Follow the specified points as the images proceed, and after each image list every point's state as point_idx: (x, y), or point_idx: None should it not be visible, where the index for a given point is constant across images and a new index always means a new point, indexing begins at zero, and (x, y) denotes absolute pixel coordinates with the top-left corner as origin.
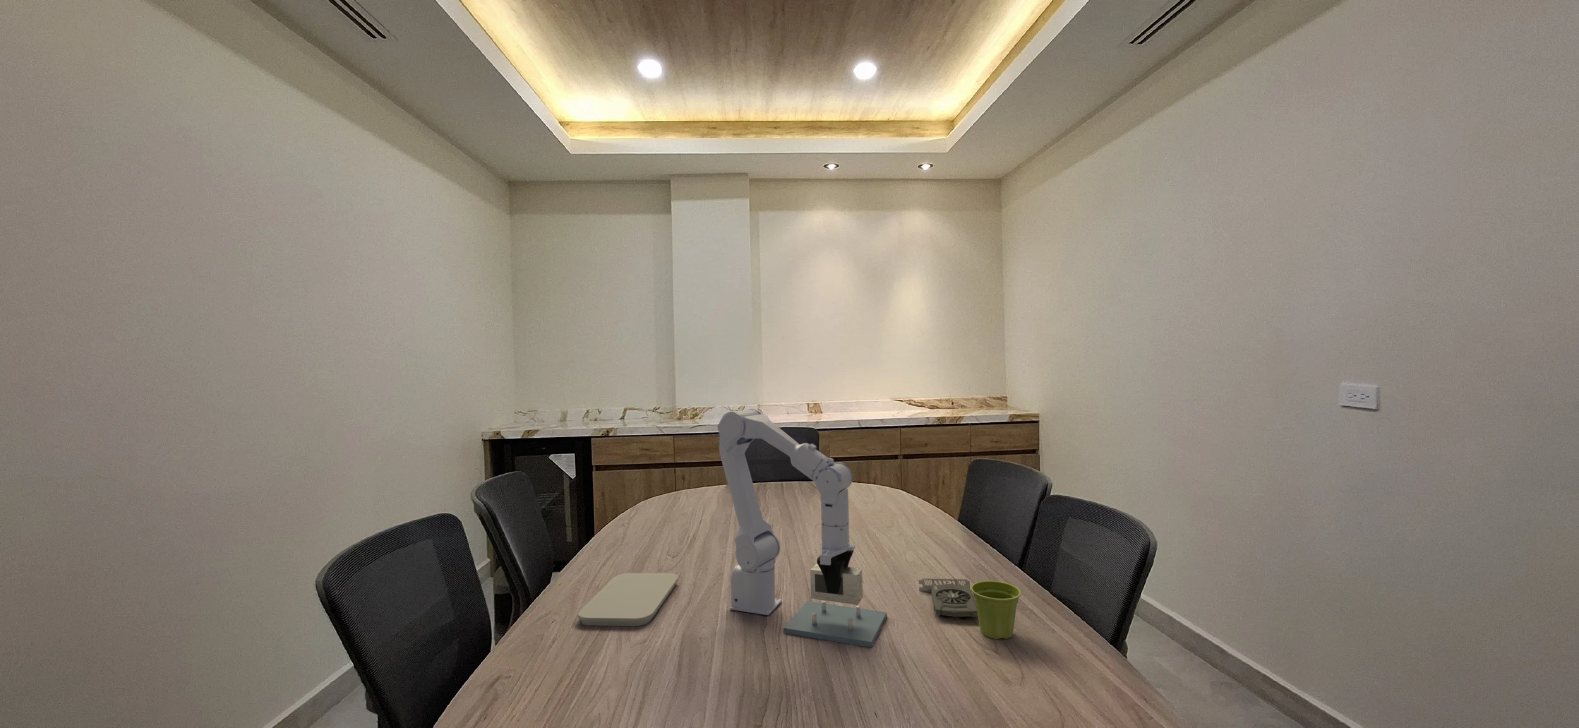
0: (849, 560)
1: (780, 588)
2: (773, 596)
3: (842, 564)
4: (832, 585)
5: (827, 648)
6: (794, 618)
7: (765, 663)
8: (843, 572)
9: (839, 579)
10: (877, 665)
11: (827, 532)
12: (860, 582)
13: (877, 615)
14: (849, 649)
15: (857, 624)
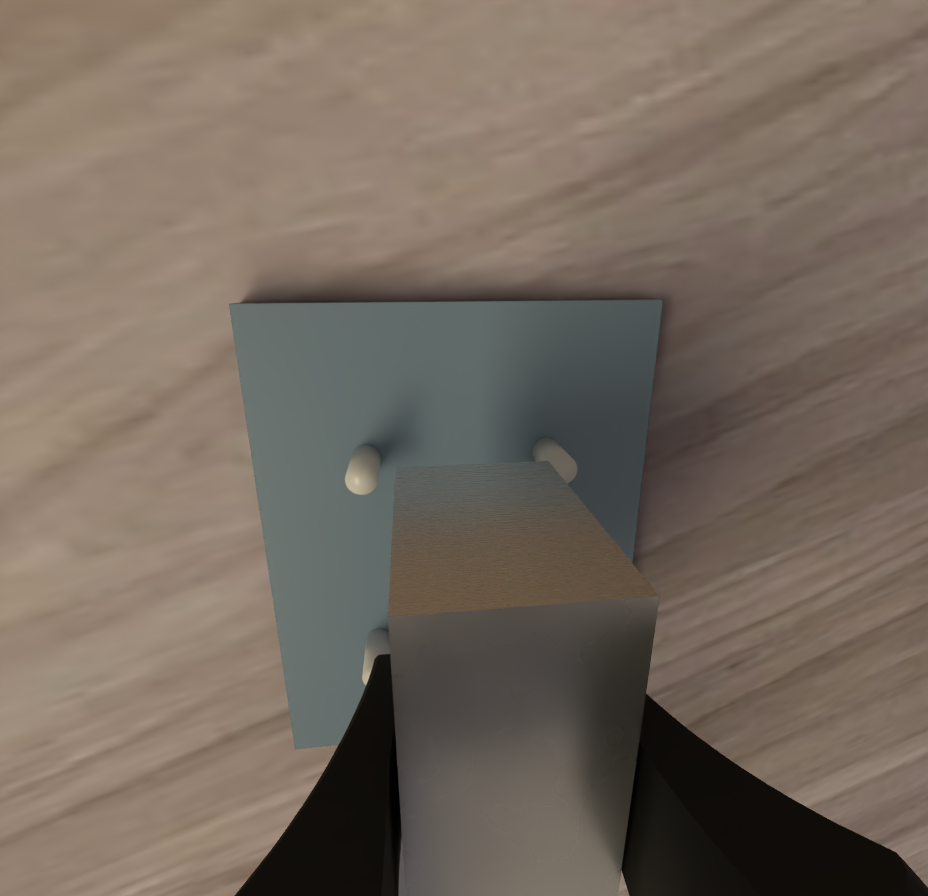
0: (303, 849)
1: (168, 892)
2: (400, 884)
3: (914, 882)
4: None
5: (700, 495)
6: None
7: (847, 653)
8: (603, 752)
9: (649, 716)
10: (821, 223)
11: None
12: (476, 530)
13: (308, 351)
14: (691, 399)
15: (476, 431)
